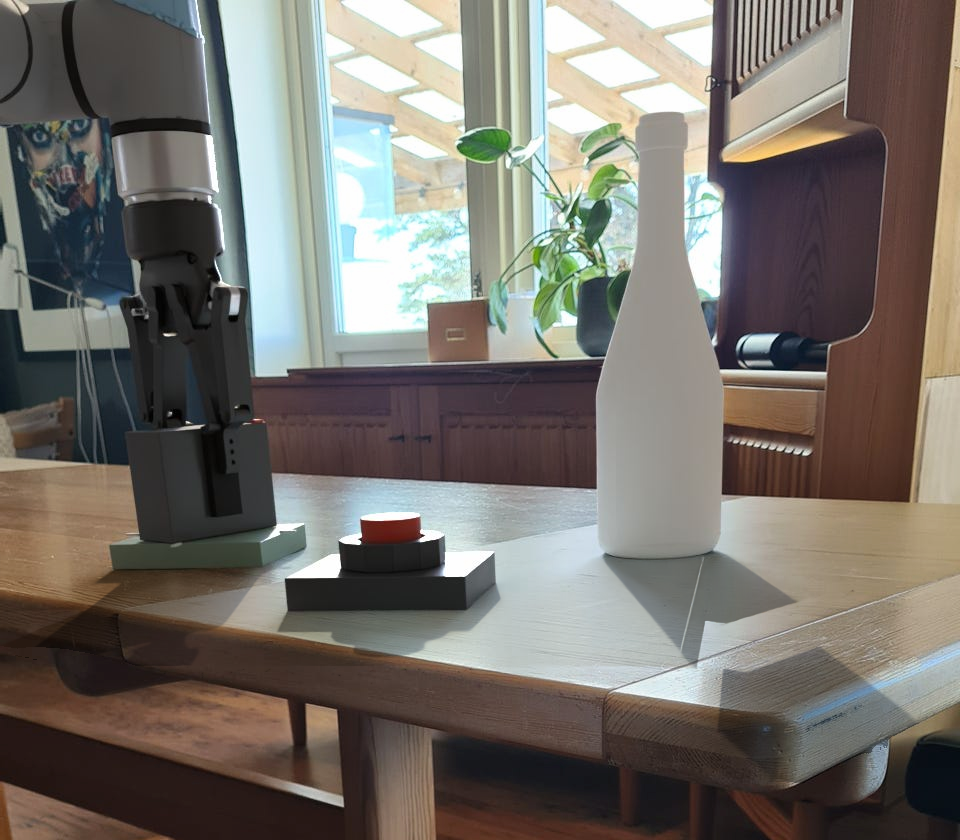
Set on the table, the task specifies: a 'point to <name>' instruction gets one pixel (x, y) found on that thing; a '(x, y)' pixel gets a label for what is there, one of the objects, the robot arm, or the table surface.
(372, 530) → the button
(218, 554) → the platform
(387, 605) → the switch box
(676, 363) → the wine bottle
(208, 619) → the table surface
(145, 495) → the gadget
